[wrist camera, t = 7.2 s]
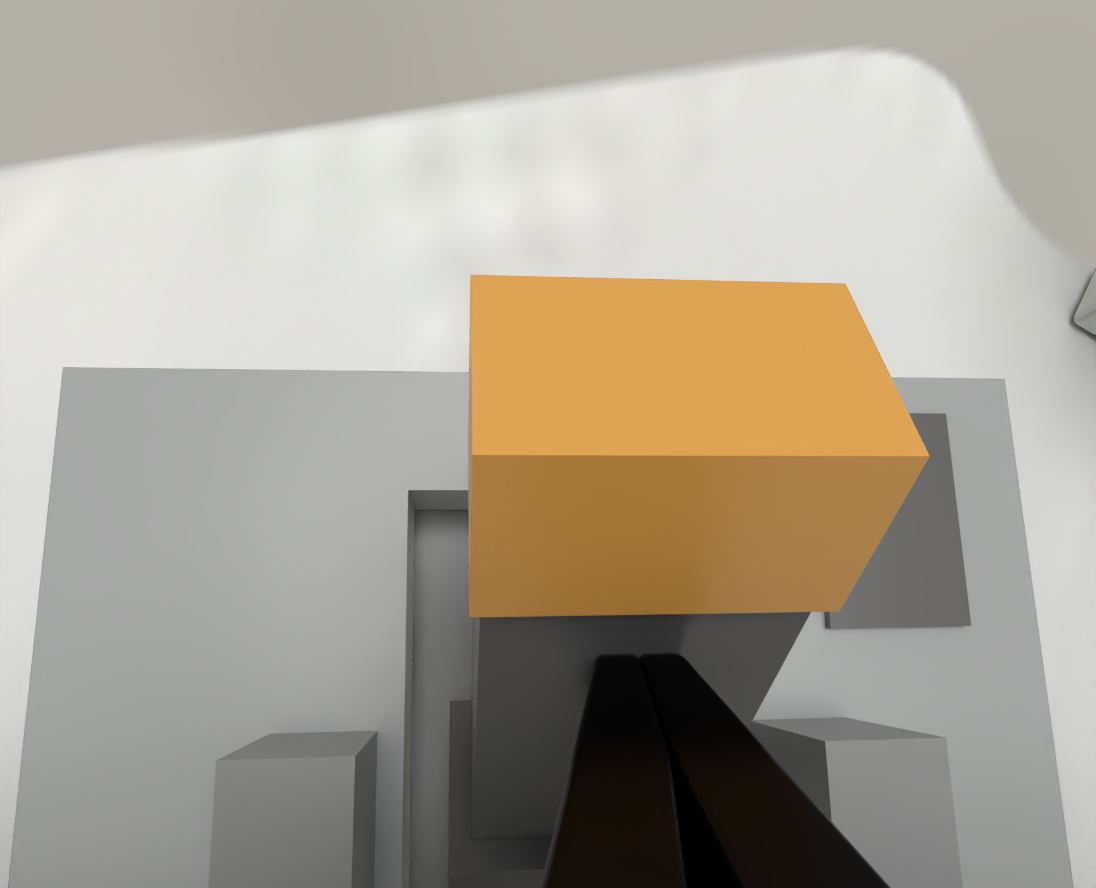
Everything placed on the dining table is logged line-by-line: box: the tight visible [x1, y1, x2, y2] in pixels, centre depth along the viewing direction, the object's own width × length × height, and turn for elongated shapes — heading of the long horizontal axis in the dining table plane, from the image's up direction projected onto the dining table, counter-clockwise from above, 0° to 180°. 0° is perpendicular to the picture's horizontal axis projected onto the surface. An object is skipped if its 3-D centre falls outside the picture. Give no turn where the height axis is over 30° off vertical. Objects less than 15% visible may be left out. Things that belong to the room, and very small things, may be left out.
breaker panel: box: [8, 367, 1073, 888], centre depth 13 cm, size 14×16×5 cm
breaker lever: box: [448, 275, 930, 888], centre depth 10 cm, size 2×4×10 cm, turn 91°
